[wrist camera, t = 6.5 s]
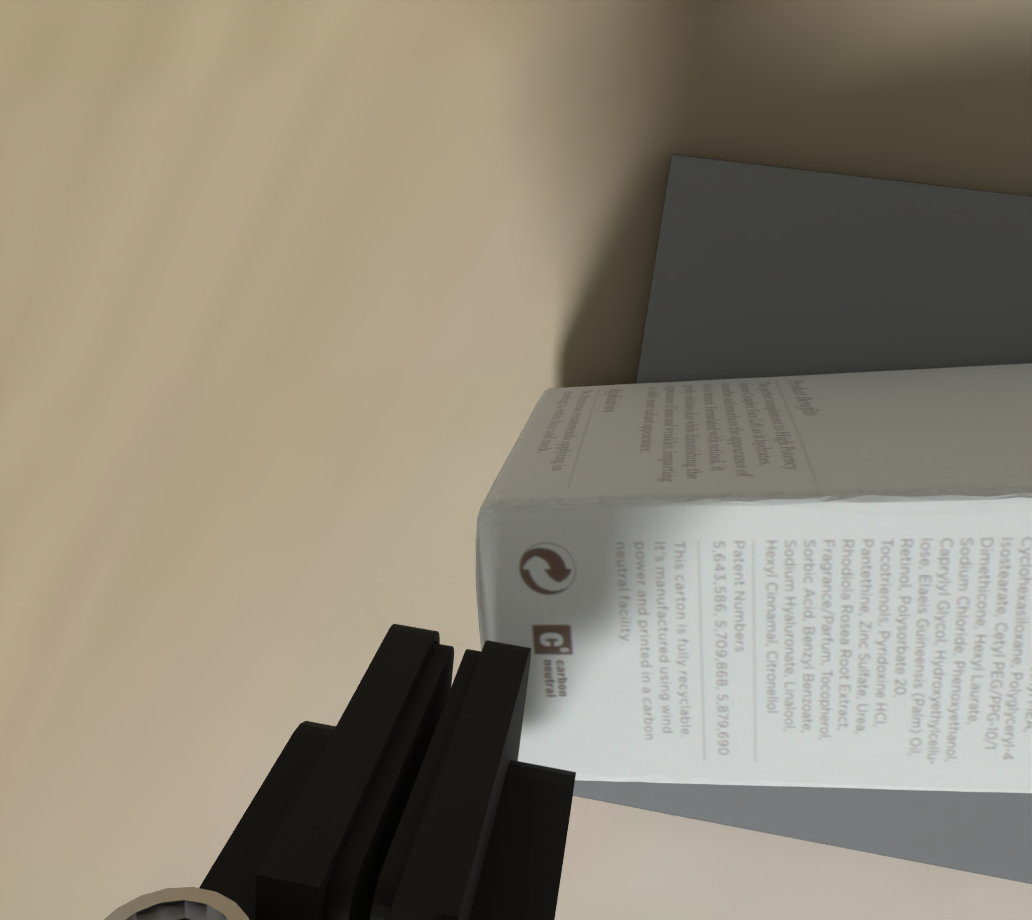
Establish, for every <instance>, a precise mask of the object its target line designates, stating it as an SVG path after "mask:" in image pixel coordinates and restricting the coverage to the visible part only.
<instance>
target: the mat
mask: <svg viewBox="0 0 1032 920" xmlns="http://www.w3.org/2000/svg"><path fill="white" fill-rule="evenodd" d="M1027 363H1032V197H1031V196H1022V195H1013V194H1005V193H996V192H988V191H979V190H971V189H962V188H954V187H945V186H937V185H928V184H919V183H911V182H902V181H894V180H885V179H877V178H868V177H860V176H851V175H843V174H834V173H825V172H817V171H808V170H800V169H791V168H783V167H774V166H766V165H757V164H748V163H740V162H731V161H723V160H714V159H706V158H697V157H689V156H680V155H672V157H671V163H670V169H669V176H668V182H667V189H666V195H665V201H664V208H663V214H662V221H661V227H660V233H659V240H658V246H657V253H656V259H655V265H654V272H653V278H652V285H651V291H650V297H649V304H648V310H647V317H646V323H645V329H644V336H643V342H642V349H641V355H640V361H639V368H638V374H637V381H636V384H639V383H661V382H681V381H699V380H718V379H739V378H760V377H781V376H800V375H819V374H837V373H856V372H875V371H894V370H913V369H932V368H951V367H970V366H989V365H1008V364H1027ZM573 796H577V797H582V798H587V799H593V800H598V801H603V802H608V803H613V804H619V805H624V806H629V807H634V808H639V809H645V810H650V811H655V812H660V813H665V814H671V815H676V816H681V817H686V818H691V819H696V820H702V821H707V822H712V823H717V824H722V825H728V826H733V827H738V828H743V829H748V830H754V831H759V832H764V833H769V834H774V835H780V836H785V837H790V838H795V839H800V840H806V841H811V842H816V843H821V844H826V845H831V846H837V847H842V848H847V849H852V850H857V851H863V852H868V853H873V854H878V855H883V856H889V857H894V858H899V859H904V860H909V861H915V862H920V863H925V864H930V865H935V866H941V867H946V868H951V869H956V870H961V871H966V872H972V873H977V874H982V875H987V876H992V877H998V878H1003V879H1008V880H1013V881H1018V882H1024V883H1029V884H1032V793H1007V792H961V791H927V790H892V789H863V788H827V787H794V786H751V785H716V784H680V783H651V782H612V781H585V780H575V784H574V790H573Z"/></svg>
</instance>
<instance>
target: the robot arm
mask: <svg viewBox="0 0 1032 920" xmlns="http://www.w3.org/2000/svg"><path fill="white" fill-rule="evenodd" d="M439 643H440V638H439V633H438V631H432V630H426V629H421V628H415V627H409V626H404V625H398V624H393V625H392V626H391V627H390V629H389V631H388V632H387V634H386V636H385V638H384V640H383V642H382V643H381V645H380V647H379V649H378V651H377V653H376V654H375V656H374V658H373V660H372V662H371V664H370V665H369V667H368V669H367V671H366V673H365V675H364V676H363V678H362V680H361V682H360V684H359V686H358V687H357V689H356V691H355V693H354V695H353V697H352V698H351V700H350V702H349V704H348V706H347V708H346V710H345V711H344V713H343V715H342V717H341V719H340V721H339V722H338V724H337V726H336V727H335V726H330V725H325V724H320V723H314V722H309V721H305V722H303V723H301V724H300V725H299V726H298V727H297V729H296V730H295V731H294V733H293V734H292V736H291V738H290V739H289V741H288V743H287V744H286V746H285V748H284V749H283V751H282V752H281V754H280V756H279V757H278V759H277V761H276V762H275V764H274V766H273V767H272V769H271V771H270V772H269V774H268V776H267V777H266V779H265V780H264V782H263V784H262V785H261V787H260V789H259V790H258V792H257V794H256V795H255V797H254V799H253V800H252V802H251V804H250V805H249V807H248V808H247V810H246V812H245V813H244V815H243V817H242V818H241V820H240V822H239V823H238V825H237V827H236V828H235V830H234V832H233V833H232V835H231V836H230V838H229V840H228V841H227V843H226V845H225V846H224V848H223V850H222V851H221V853H220V855H219V856H218V858H217V860H216V861H215V863H214V864H213V866H212V868H211V869H210V871H209V873H208V874H207V876H206V878H205V879H204V881H203V883H202V884H201V886H200V888H195V887H185V888H167V889H163V890H160V891H156V892H153V893H149V894H146V895H142V896H140V897H138V898H136V899H134V900H132V901H130V902H128V903H127V904H125V905H123V906H121V907H119V908H117V909H116V910H115V911H113V912H112V913H111V914H110V915H109V916H108V917H106V918H105V919H104V920H554V918H555V911H556V905H557V898H558V891H559V885H560V878H561V871H562V864H563V858H564V851H565V844H566V837H567V831H568V824H569V817H570V810H571V804H572V797H573V790H574V784H575V777H576V772H572V771H567V770H562V769H557V768H551V767H546V766H541V765H536V764H530V763H525V762H520V761H518V755H519V747H520V739H521V731H522V723H523V715H524V708H525V700H526V692H527V684H528V676H529V669H530V660H531V648H528V647H523V646H517V645H511V644H506V643H500V642H494V641H489V640H487V641H485V644H484V646H483V649H482V652H480V651H475V650H469V649H467V650H466V651H465V653H464V656H463V658H462V661H461V664H460V666H459V669H458V671H457V674H456V677H455V679H454V682H453V684H452V687H451V682H452V671H453V660H454V648H453V647H452V646H447V645H441V644H439Z"/></svg>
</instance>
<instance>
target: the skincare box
mask: <svg viewBox="0 0 1032 920" xmlns="http://www.w3.org/2000/svg"><path fill="white" fill-rule="evenodd" d="M476 593H477V606H478V618H479V630H480V641H481V652H482V649H483V646H484V644H485V641H487V640H489V641H494V642H500V643H506V644H511V645H517V646H523V647H528V648H531V660H530V669H529V676H528V684H527V692H526V700H525V708H524V715H523V723H522V731H521V739H520V747H519V755H518V761H520V762H525V763H530V764H536V765H541V766H546V767H551V768H557V769H562V770H567V771H572V772H576V777H575V780H585V781H612V782H651V783H680V784H716V785H751V786H794V787H827V788H863V789H892V790H927V791H961V792H1007V793H1032V363H1027V364H1008V365H989V366H970V367H951V368H932V369H913V370H894V371H875V372H856V373H837V374H819V375H800V376H781V377H760V378H739V379H718V380H699V381H681V382H661V383H639V384H620V385H601V386H583V387H566V388H549V389H547V390H546V391H544V393H543V395H542V396H541V398H540V400H539V401H538V403H537V405H536V406H535V408H534V410H533V412H532V414H531V416H530V417H529V419H528V421H527V423H526V425H525V427H524V428H523V430H522V432H521V434H520V436H519V438H518V440H517V441H516V443H515V445H514V447H513V449H512V451H511V452H510V454H509V456H508V458H507V460H506V461H505V463H504V465H503V467H502V469H501V471H500V472H499V474H498V476H497V478H496V479H495V481H494V483H493V485H492V487H491V489H490V491H489V493H488V495H487V497H486V499H485V500H484V502H483V504H482V506H481V508H480V511H479V515H478V519H477V533H476Z"/></svg>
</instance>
